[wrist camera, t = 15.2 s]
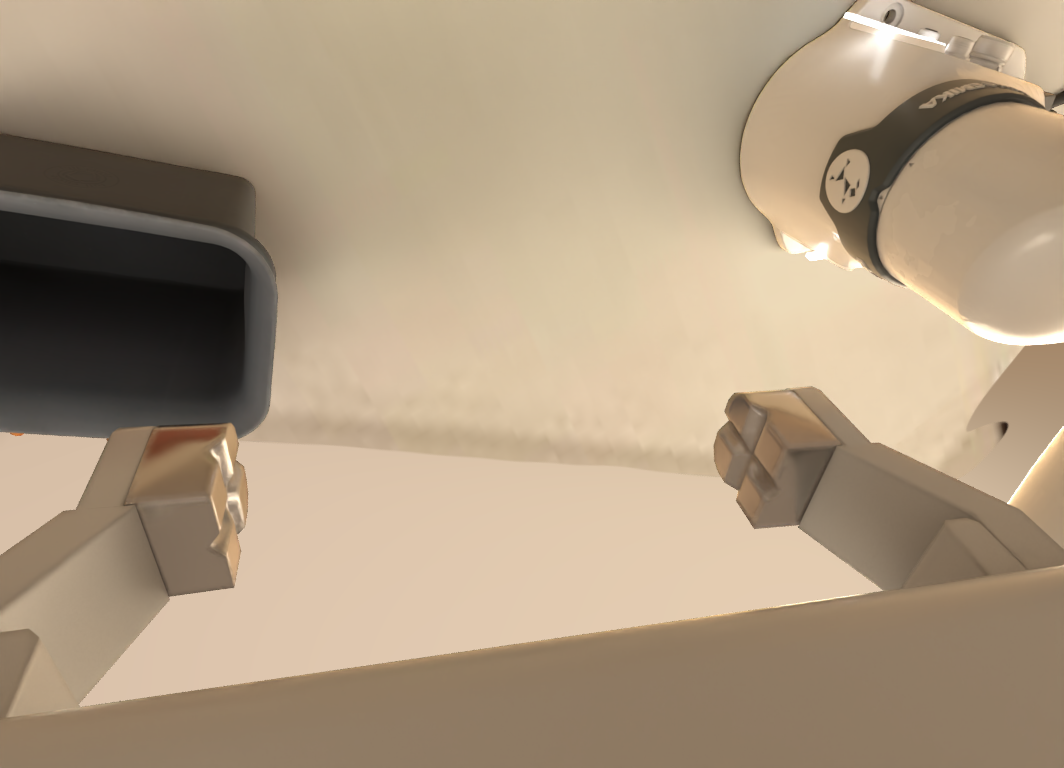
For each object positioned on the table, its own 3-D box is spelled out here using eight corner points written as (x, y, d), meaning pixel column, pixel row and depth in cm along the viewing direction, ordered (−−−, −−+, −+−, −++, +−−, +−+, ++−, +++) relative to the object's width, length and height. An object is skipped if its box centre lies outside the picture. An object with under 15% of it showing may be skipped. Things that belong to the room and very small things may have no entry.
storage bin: (301, 148, 42) (281, 238, 31) (285, 348, 50) (265, 476, 39) (-115, 63, 35) (-335, 139, 24) (-55, 311, 43) (-198, 455, 32)
